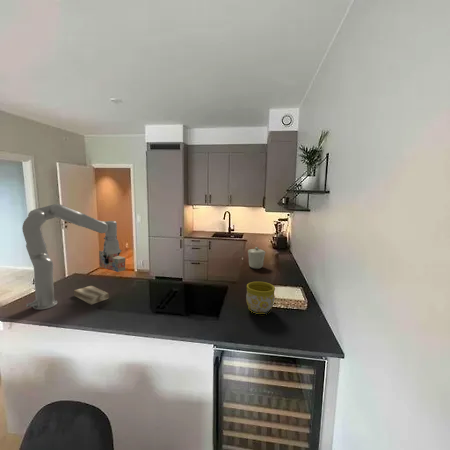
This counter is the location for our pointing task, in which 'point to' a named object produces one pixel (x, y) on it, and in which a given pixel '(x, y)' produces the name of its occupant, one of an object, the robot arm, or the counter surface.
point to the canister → (256, 258)
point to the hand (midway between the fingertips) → (111, 262)
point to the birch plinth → (91, 294)
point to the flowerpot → (260, 297)
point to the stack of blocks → (112, 262)
